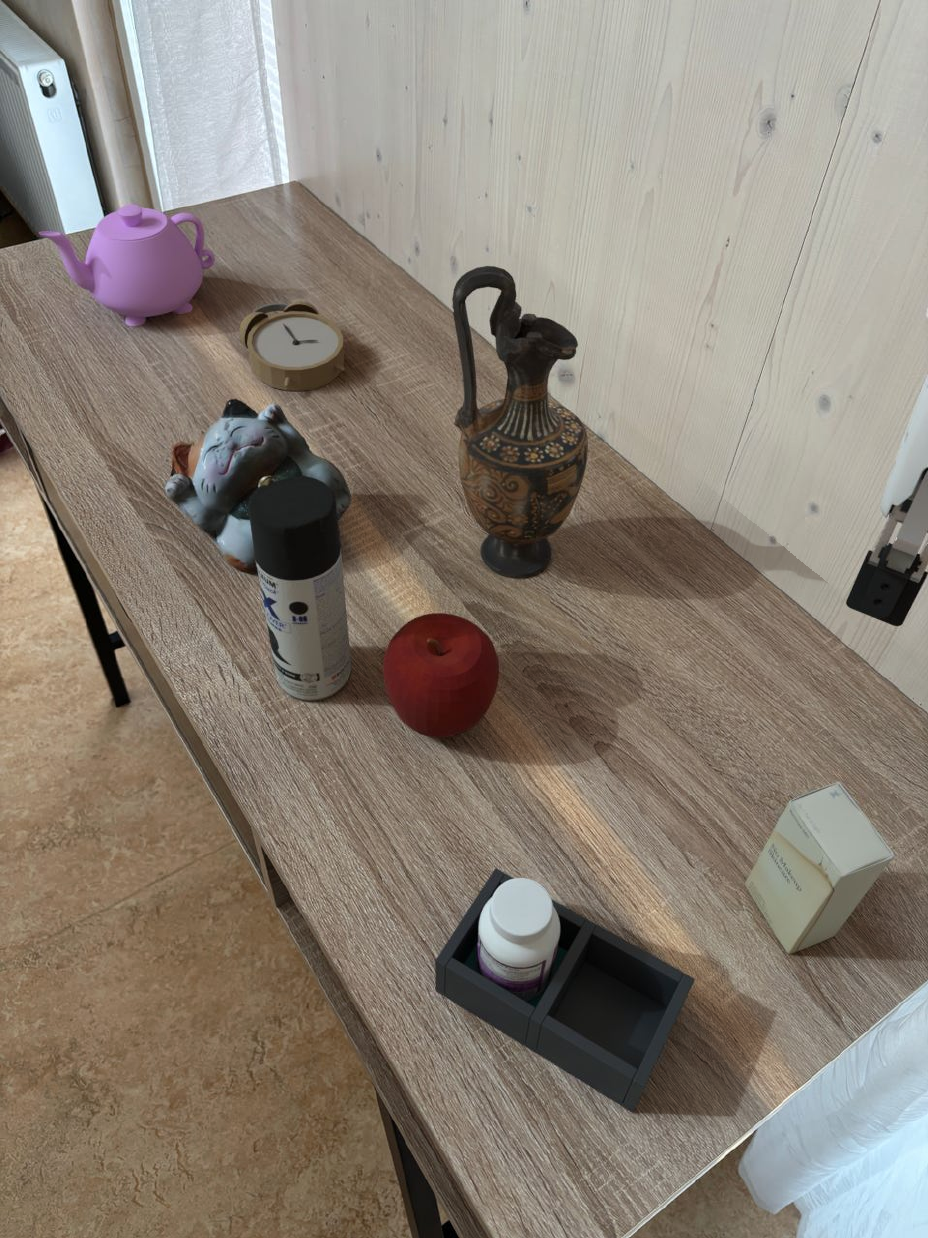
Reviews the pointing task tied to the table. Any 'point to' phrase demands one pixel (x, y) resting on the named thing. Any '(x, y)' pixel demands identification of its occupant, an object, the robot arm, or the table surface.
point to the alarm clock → (292, 346)
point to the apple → (440, 674)
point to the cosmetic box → (816, 867)
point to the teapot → (139, 263)
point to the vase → (517, 433)
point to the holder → (575, 1001)
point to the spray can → (302, 585)
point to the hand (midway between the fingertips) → (896, 562)
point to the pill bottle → (518, 938)
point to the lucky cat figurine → (243, 474)
